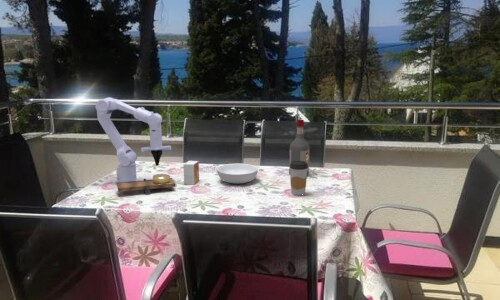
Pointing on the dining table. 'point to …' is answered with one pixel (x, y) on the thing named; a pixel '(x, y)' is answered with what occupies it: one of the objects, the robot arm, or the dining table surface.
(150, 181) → the beam
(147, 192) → the beam stand
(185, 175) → the small box
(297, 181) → the coffee cup
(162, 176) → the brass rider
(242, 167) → the serving bowl
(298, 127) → the liquor
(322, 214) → the dining table surface
